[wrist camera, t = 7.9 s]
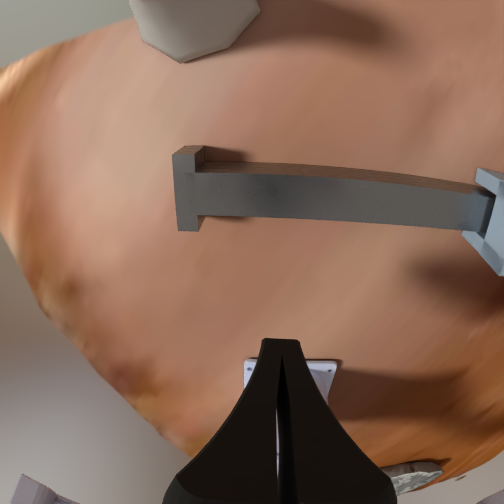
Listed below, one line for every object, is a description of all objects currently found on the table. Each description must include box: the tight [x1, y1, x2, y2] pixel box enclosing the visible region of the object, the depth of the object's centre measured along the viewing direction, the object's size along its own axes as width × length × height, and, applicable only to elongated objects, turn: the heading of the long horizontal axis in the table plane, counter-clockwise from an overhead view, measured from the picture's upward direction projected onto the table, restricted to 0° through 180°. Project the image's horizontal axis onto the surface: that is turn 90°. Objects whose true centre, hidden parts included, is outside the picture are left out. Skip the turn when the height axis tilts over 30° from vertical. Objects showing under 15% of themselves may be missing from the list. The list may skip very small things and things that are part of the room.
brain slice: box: [380, 462, 444, 496], centre depth 42 cm, size 20×17×3 cm
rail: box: [172, 146, 497, 233], centre depth 16 cm, size 7×26×6 cm, turn 89°
